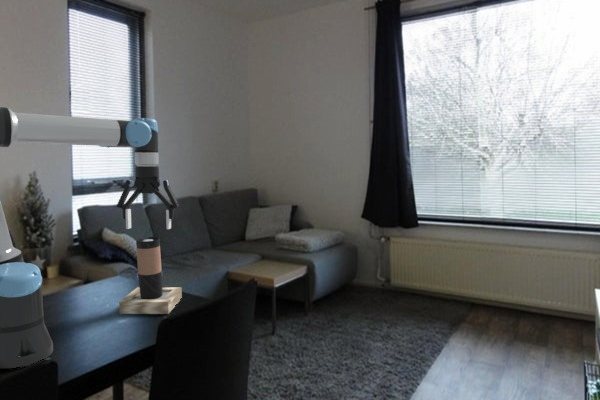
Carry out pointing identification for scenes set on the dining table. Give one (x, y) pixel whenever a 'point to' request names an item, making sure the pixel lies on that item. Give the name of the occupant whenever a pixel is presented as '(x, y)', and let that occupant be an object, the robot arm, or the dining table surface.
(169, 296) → the display stand
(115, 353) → the dining table surface
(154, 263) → the travel mug
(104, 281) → the dining table surface
